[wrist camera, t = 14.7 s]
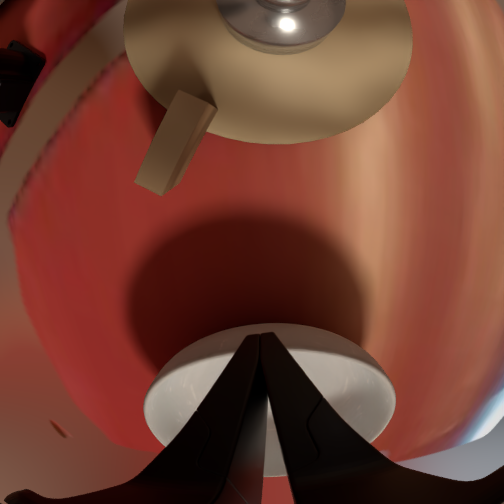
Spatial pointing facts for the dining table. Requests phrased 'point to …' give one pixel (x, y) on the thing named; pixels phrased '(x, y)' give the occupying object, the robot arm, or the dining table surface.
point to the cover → (281, 23)
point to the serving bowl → (313, 364)
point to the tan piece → (258, 79)
